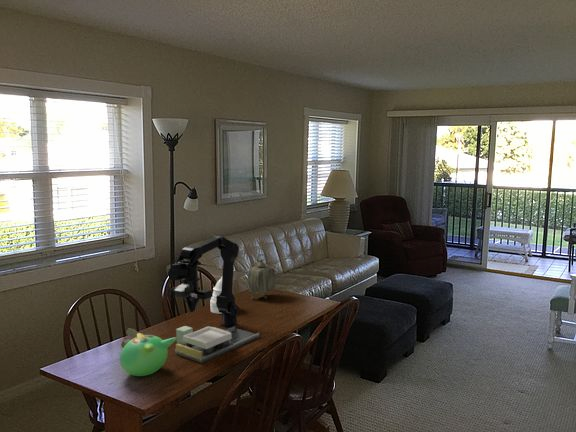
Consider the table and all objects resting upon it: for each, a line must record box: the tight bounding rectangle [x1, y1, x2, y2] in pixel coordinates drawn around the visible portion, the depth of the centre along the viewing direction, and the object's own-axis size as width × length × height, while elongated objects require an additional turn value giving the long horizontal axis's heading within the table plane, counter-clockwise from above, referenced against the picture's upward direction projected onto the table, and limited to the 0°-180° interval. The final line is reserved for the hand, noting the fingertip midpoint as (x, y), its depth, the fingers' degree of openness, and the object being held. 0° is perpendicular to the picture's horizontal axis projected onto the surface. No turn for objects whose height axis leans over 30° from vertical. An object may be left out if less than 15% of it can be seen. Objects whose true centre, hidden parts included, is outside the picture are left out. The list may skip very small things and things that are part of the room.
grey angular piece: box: [120, 328, 139, 349], centre depth 207 cm, size 9×6×10 cm
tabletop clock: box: [247, 253, 276, 300], centre depth 276 cm, size 14×9×25 cm, turn 145°
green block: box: [175, 325, 194, 346], centre depth 214 cm, size 5×5×6 cm
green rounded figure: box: [119, 332, 177, 377], centre depth 183 cm, size 18×17×15 cm
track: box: [174, 326, 261, 364], centre depth 210 cm, size 16×34×4 cm, turn 141°
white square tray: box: [183, 325, 232, 354], centre depth 205 cm, size 14×15×5 cm
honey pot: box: [209, 276, 222, 315], centre depth 257 cm, size 13×13×18 cm
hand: (192, 311), depth 213 cm, fingers closed
